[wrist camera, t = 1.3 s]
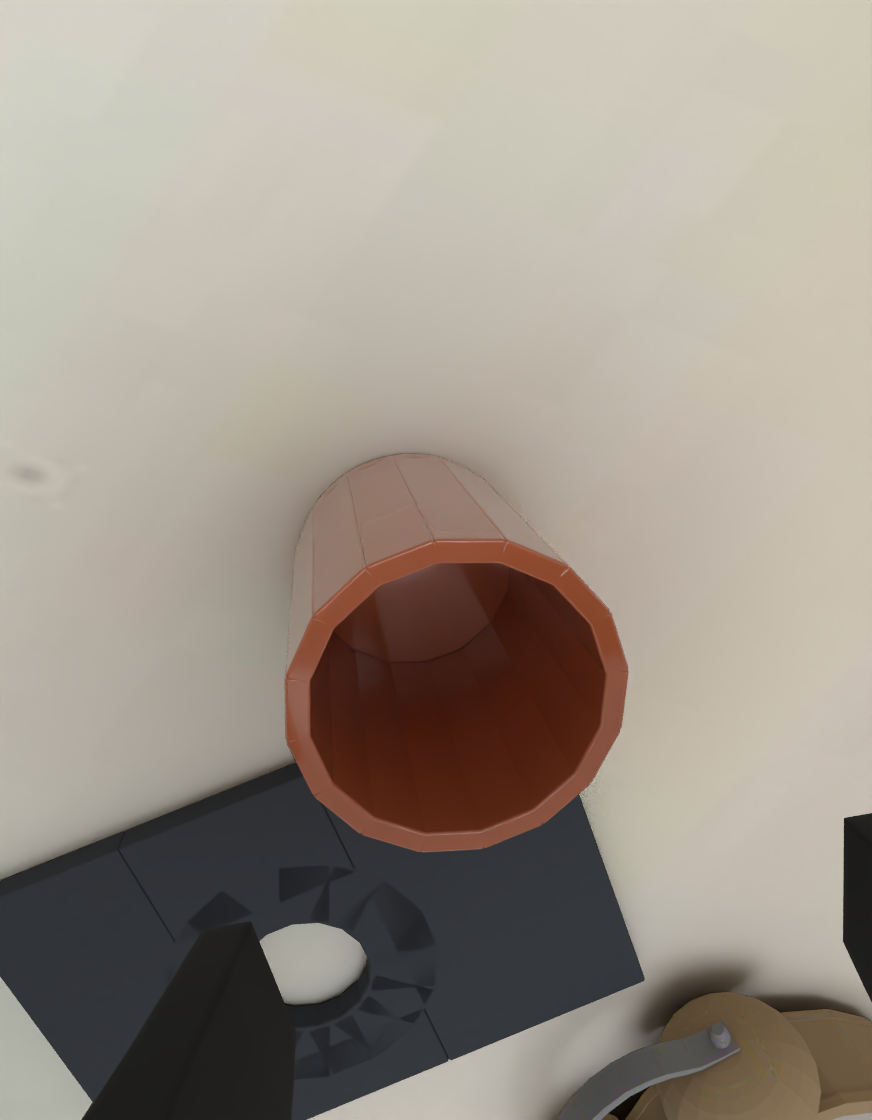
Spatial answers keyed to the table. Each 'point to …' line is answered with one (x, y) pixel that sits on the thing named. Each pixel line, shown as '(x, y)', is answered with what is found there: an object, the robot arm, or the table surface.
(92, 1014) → the drain mat
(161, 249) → the table surface
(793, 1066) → the alarm clock
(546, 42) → the table surface
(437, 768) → the cup
